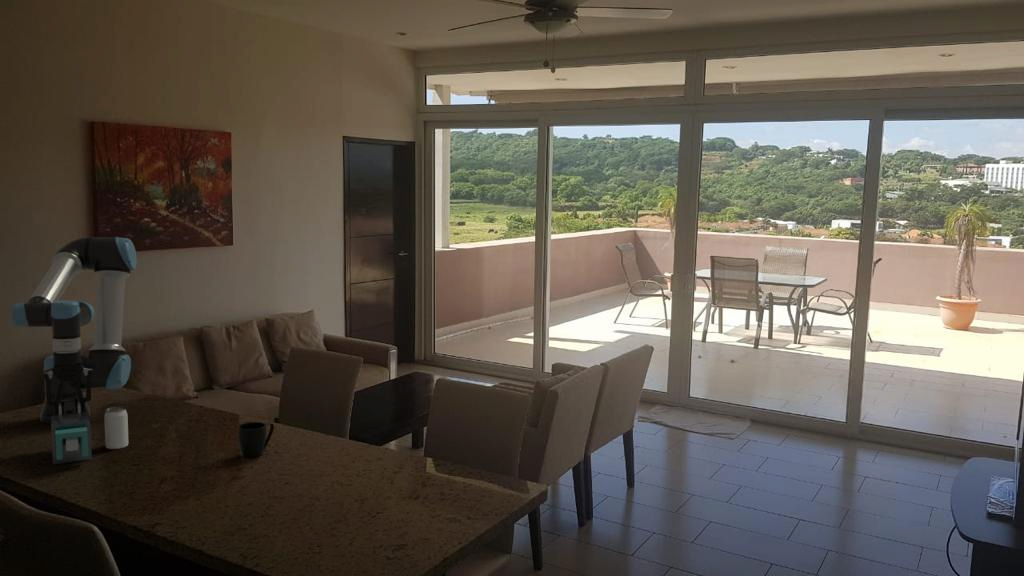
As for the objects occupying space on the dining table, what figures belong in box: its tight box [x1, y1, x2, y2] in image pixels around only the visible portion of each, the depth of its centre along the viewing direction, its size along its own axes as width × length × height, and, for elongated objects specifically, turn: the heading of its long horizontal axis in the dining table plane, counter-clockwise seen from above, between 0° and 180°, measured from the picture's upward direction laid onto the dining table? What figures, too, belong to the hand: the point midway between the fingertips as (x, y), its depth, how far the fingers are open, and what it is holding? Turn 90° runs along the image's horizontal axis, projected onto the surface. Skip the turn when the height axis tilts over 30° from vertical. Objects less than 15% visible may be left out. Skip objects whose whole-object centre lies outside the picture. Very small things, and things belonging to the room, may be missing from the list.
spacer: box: [55, 427, 88, 460], centre depth 228 cm, size 4×8×8 cm, turn 120°
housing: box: [50, 412, 93, 465], centre depth 235 cm, size 10×10×12 cm
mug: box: [237, 421, 275, 460], centre depth 242 cm, size 8×12×10 cm
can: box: [104, 406, 129, 450], centre depth 246 cm, size 6×6×12 cm
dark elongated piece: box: [61, 398, 78, 451], centre depth 234 cm, size 26×4×9 cm, turn 30°
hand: (70, 424), depth 244 cm, fingers closed on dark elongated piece, 4 cm apart
